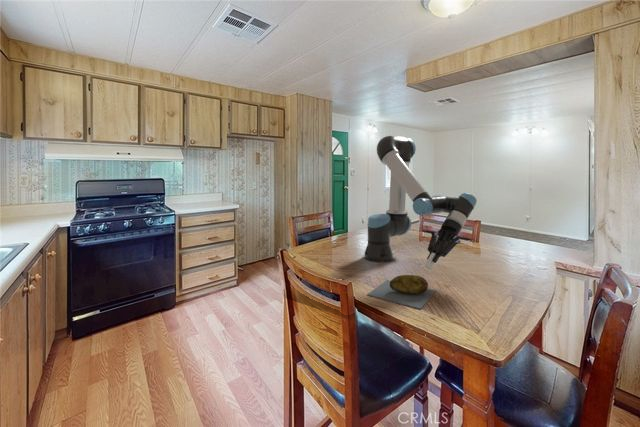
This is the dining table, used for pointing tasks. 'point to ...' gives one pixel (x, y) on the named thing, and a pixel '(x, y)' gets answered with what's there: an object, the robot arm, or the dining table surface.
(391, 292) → the mat
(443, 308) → the dining table surface
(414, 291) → the potato
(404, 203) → the robot arm
